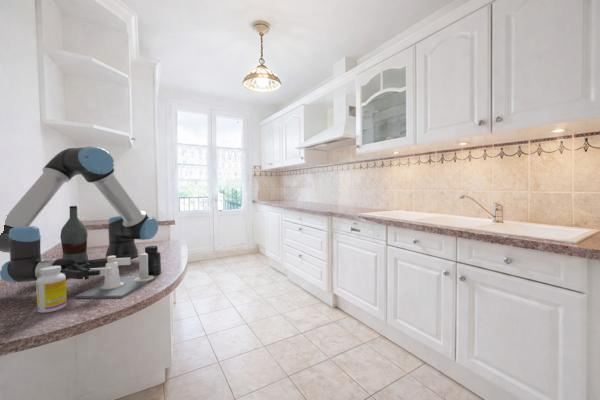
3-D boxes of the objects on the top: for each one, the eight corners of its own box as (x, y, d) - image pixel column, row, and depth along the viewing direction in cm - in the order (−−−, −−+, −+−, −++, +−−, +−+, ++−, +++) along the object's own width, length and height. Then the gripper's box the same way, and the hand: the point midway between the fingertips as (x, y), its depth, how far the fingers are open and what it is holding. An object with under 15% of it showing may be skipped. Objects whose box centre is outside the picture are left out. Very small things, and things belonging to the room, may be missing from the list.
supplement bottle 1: (72, 304, 83) (71, 264, 83) (52, 313, 77) (50, 271, 76) (52, 303, 83) (51, 264, 83) (30, 313, 77) (28, 270, 76)
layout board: (118, 277, 108) (117, 252, 108) (157, 277, 108) (156, 252, 108) (75, 298, 88) (74, 266, 88) (123, 297, 88) (122, 266, 87)
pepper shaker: (108, 289, 93) (106, 258, 93) (100, 286, 96) (99, 257, 96) (124, 284, 98) (123, 255, 98) (116, 281, 101) (115, 253, 100)
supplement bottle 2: (159, 270, 119) (159, 244, 118) (162, 274, 113) (161, 246, 113) (142, 273, 114) (141, 246, 114) (144, 277, 109) (143, 249, 109)
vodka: (58, 276, 111) (55, 206, 110) (66, 270, 119) (63, 205, 119) (85, 273, 115) (83, 206, 114) (91, 267, 124) (89, 205, 123)
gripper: (81, 269, 106) (137, 266, 110) (27, 292, 82) (101, 288, 85) (80, 251, 106) (136, 248, 109) (26, 269, 81) (100, 265, 85)
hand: (121, 265), depth 97 cm, fingers open, 13 cm apart
